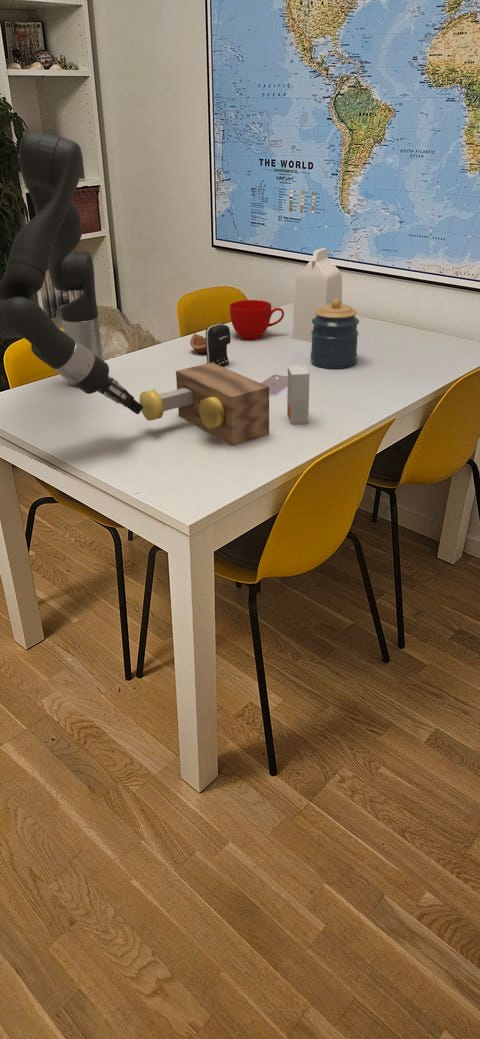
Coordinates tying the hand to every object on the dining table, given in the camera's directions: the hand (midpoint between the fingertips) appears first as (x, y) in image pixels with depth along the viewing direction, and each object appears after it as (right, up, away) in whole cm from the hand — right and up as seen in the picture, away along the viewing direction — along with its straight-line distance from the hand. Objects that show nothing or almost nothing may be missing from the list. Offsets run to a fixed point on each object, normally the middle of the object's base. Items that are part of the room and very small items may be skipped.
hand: (139, 409), depth 156 cm
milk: (+46, +33, +69) cm, 90 cm away
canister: (+49, +20, +46) cm, 70 cm away
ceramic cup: (+27, +34, +70) cm, 83 cm away
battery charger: (+16, +19, +45) cm, 52 cm away
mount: (+17, -3, +7) cm, 18 cm away
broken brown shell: (+11, +26, +57) cm, 63 cm away
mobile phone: (+31, +10, +30) cm, 44 cm away
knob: (+8, 0, +6) cm, 10 cm away
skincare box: (+35, -1, +10) cm, 37 cm away
